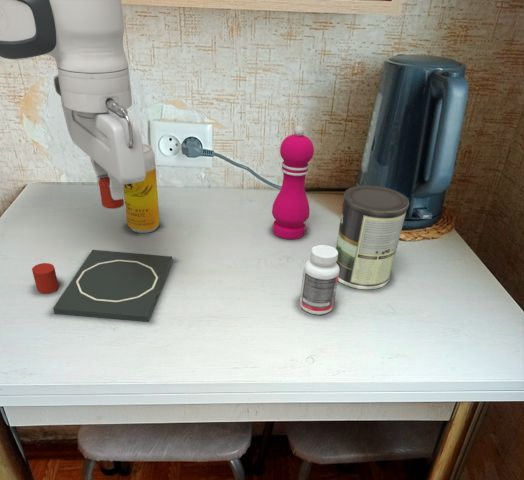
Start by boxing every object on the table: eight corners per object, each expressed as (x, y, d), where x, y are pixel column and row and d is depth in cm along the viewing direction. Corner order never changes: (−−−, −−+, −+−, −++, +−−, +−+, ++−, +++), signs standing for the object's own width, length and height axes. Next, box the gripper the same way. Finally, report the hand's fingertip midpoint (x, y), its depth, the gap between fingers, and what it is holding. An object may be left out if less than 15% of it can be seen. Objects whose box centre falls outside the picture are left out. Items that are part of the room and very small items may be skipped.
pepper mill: (300, 244, 97) (313, 135, 84) (265, 235, 98) (272, 127, 86) (311, 228, 102) (325, 124, 89) (277, 221, 104) (286, 117, 91)
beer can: (121, 229, 97) (111, 149, 88) (140, 217, 101) (132, 139, 92) (147, 237, 95) (140, 156, 86) (166, 224, 100) (160, 146, 90)
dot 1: (33, 292, 79) (28, 272, 77) (42, 281, 81) (36, 262, 79) (54, 294, 79) (49, 274, 77) (61, 283, 81) (57, 263, 79)
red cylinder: (99, 208, 76) (96, 184, 73) (105, 199, 78) (101, 176, 76) (121, 209, 76) (118, 185, 74) (125, 200, 78) (123, 177, 76)
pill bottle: (338, 313, 80) (348, 258, 73) (305, 317, 78) (313, 261, 72) (325, 294, 84) (334, 241, 77) (294, 298, 82) (301, 243, 76)
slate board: (54, 313, 75) (52, 307, 74) (93, 254, 89) (92, 249, 88) (148, 321, 75) (147, 315, 74) (172, 261, 89) (172, 255, 88)
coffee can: (321, 277, 88) (333, 199, 79) (344, 254, 95) (358, 179, 86) (377, 297, 84) (397, 217, 75) (397, 271, 91) (417, 195, 82)
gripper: (153, 108, 62) (161, 214, 71) (92, 73, 75) (106, 167, 83) (103, 113, 59) (118, 224, 68) (49, 76, 72) (67, 173, 81)
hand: (111, 192), depth 76 cm, fingers closed on red cylinder, 3 cm apart
